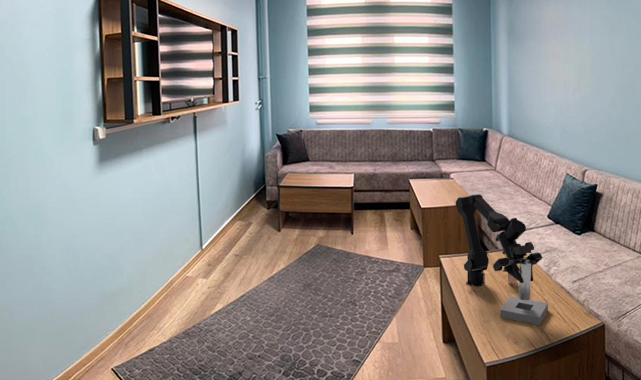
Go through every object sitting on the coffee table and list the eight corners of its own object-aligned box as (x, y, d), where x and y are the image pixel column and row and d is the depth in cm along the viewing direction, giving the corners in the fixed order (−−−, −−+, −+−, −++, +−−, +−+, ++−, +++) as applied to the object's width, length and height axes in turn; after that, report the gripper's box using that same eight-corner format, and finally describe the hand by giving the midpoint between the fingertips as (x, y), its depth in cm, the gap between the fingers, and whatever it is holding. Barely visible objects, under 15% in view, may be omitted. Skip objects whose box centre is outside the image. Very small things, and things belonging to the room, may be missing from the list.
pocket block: (500, 316, 196) (500, 309, 195) (510, 303, 207) (510, 296, 206) (539, 325, 188) (539, 317, 187) (547, 310, 199) (548, 303, 198)
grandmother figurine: (520, 282, 226) (521, 255, 223) (521, 286, 222) (521, 258, 220) (502, 281, 228) (502, 254, 226) (502, 285, 225) (502, 257, 222)
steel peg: (517, 299, 195) (518, 264, 193) (520, 295, 199) (521, 260, 196) (528, 301, 193) (529, 265, 190) (531, 297, 196) (532, 262, 193)
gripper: (497, 238, 192) (515, 276, 184) (540, 232, 197) (559, 269, 189) (485, 252, 201) (502, 289, 193) (526, 245, 206) (544, 281, 198)
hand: (527, 281), depth 193 cm, fingers closed on steel peg, 4 cm apart
